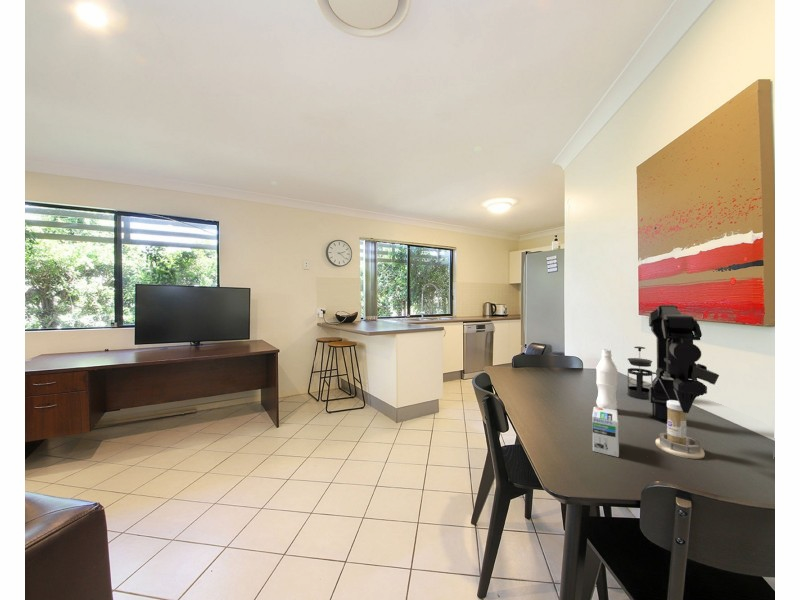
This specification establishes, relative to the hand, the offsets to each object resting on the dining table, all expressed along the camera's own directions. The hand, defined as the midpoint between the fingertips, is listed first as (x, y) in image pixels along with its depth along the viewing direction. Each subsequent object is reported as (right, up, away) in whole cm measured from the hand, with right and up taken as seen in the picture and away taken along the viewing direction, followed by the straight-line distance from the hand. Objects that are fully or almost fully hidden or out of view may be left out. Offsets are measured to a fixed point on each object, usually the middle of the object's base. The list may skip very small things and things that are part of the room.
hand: (679, 407), depth 92 cm
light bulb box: (-21, -14, +2) cm, 25 cm away
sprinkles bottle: (0, -12, +1) cm, 12 cm away
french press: (+26, -12, +47) cm, 55 cm away
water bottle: (-1, -13, +31) cm, 34 cm away
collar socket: (0, -13, 0) cm, 13 cm away
